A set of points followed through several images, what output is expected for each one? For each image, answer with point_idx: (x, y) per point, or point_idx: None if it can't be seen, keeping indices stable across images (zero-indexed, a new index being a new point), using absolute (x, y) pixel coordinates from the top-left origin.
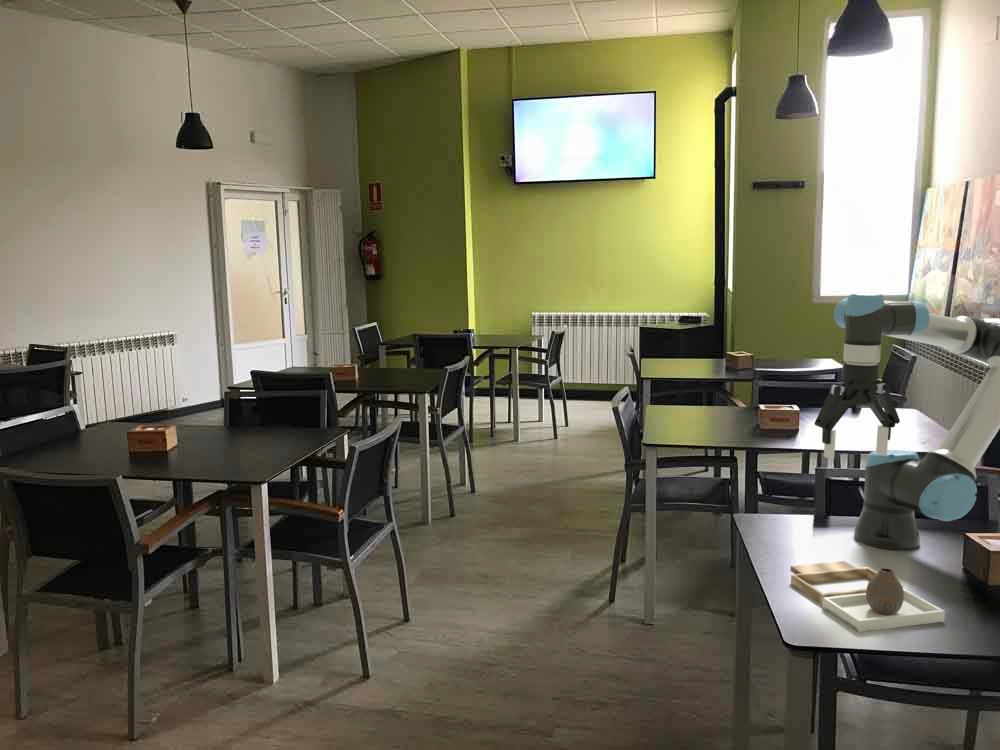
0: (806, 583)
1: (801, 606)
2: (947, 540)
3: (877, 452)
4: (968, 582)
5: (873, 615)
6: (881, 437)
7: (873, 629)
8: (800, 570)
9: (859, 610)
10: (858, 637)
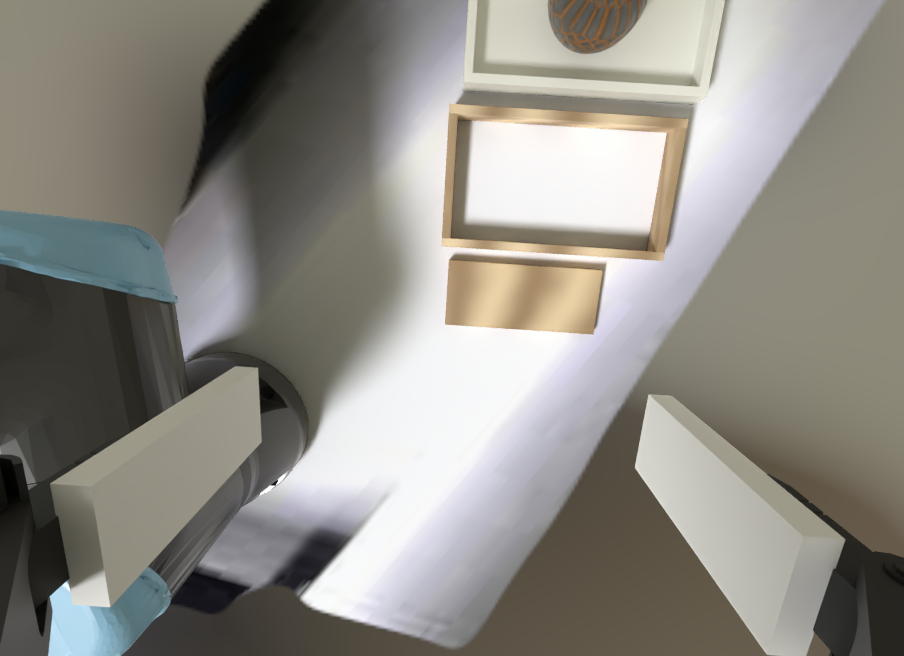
0: (670, 198)
1: (731, 129)
2: None
3: (257, 432)
4: (230, 128)
5: None
6: (184, 468)
7: None
8: (591, 303)
9: (636, 43)
10: None
